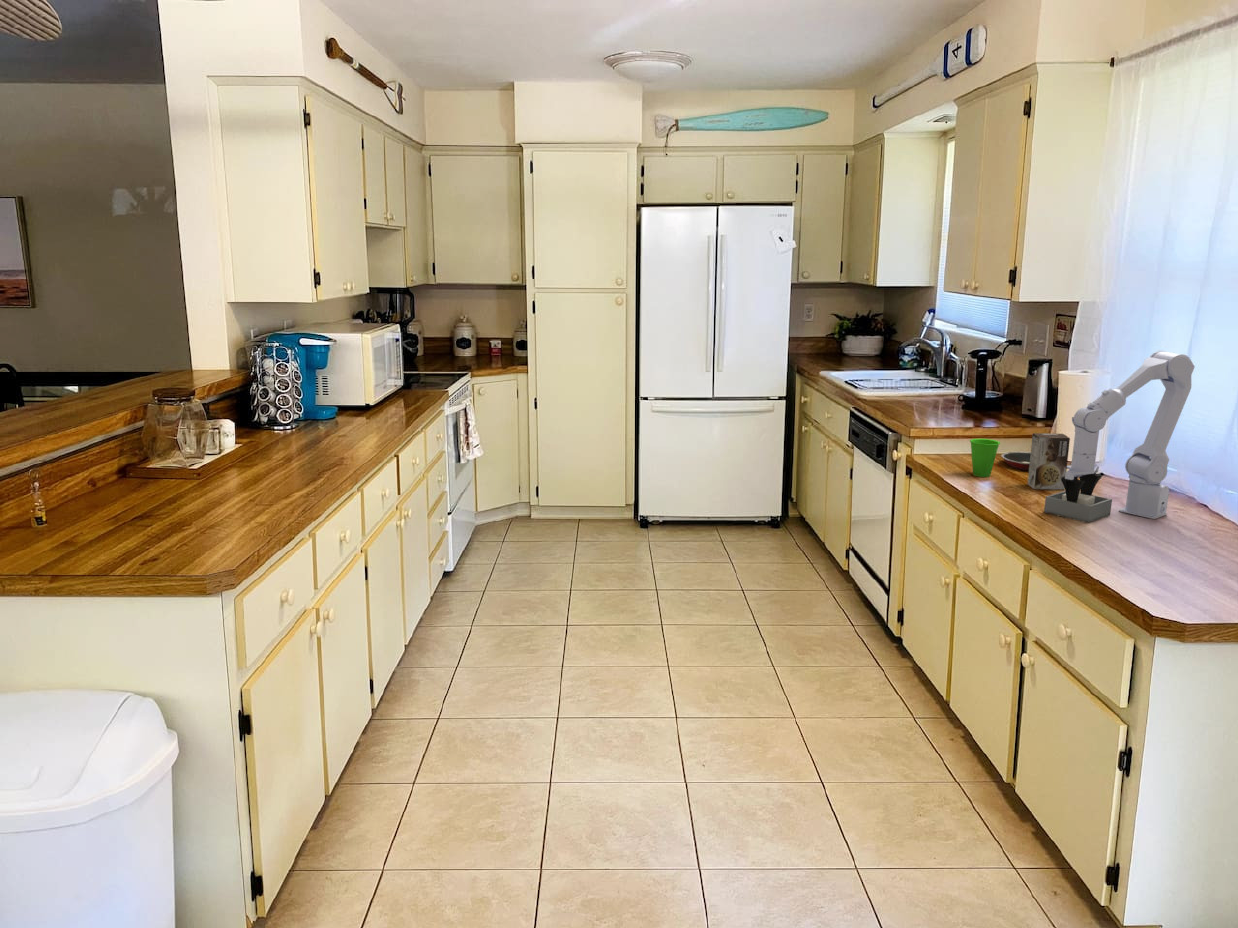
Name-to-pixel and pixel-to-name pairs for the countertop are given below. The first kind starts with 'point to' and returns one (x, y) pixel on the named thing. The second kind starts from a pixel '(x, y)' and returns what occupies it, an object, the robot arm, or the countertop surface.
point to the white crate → (1082, 499)
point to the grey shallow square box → (1078, 508)
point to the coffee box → (1048, 460)
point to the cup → (983, 456)
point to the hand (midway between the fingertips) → (1078, 501)
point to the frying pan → (1017, 459)
